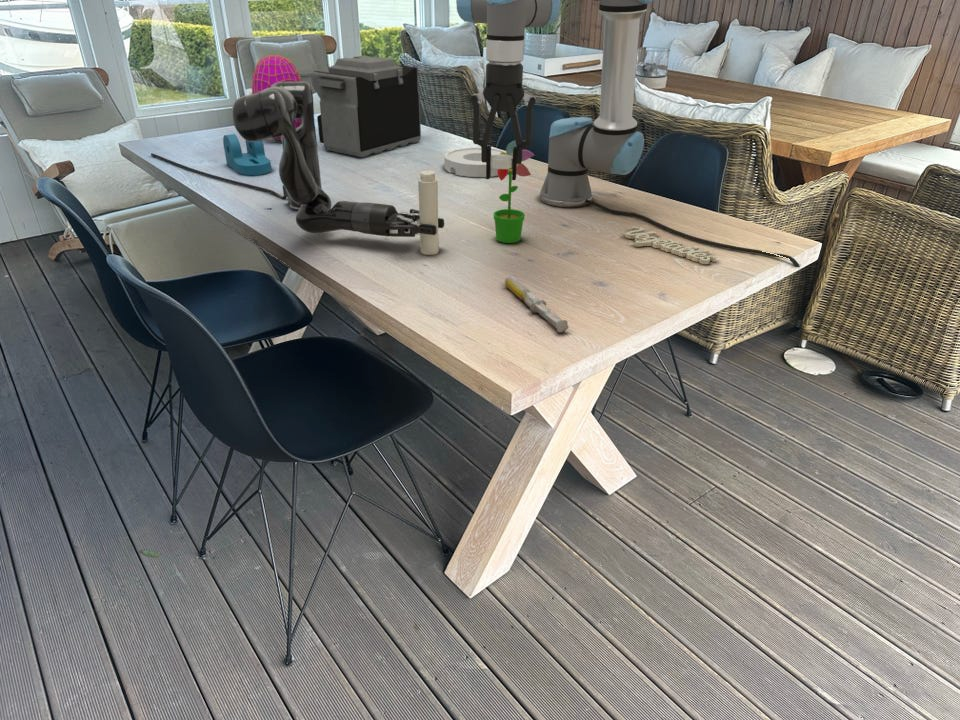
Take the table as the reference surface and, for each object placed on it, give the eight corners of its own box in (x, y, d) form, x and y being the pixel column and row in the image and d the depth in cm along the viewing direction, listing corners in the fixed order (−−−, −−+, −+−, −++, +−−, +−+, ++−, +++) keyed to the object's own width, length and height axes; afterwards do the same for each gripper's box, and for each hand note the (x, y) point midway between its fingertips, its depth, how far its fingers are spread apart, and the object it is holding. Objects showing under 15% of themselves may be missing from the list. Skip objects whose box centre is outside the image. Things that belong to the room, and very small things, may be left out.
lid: (516, 164, 150) (517, 156, 149) (507, 170, 146) (507, 161, 145) (495, 162, 151) (496, 153, 150) (485, 167, 147) (486, 158, 146)
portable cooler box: (383, 133, 276) (378, 52, 261) (425, 141, 265) (422, 56, 250) (314, 150, 251) (304, 61, 235) (358, 160, 240) (350, 67, 224)
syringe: (500, 283, 150) (500, 272, 149) (516, 281, 152) (516, 270, 150) (551, 335, 131) (552, 322, 129) (568, 332, 132) (569, 319, 130)
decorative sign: (611, 234, 176) (635, 225, 181) (610, 237, 176) (634, 229, 182) (700, 264, 159) (723, 254, 164) (699, 268, 159) (723, 257, 165)
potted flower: (500, 246, 170) (503, 143, 157) (485, 236, 176) (487, 136, 163) (533, 241, 173) (538, 139, 161) (517, 231, 179) (521, 133, 167)
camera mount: (227, 164, 233) (221, 132, 227) (257, 160, 238) (252, 129, 233) (244, 176, 220) (239, 143, 215) (276, 172, 225) (271, 139, 220)
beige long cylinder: (417, 250, 167) (414, 171, 158) (432, 247, 170) (430, 168, 160) (426, 256, 164) (424, 176, 155) (442, 252, 167) (440, 173, 157)
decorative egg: (293, 132, 276) (283, 50, 261) (319, 140, 264) (310, 56, 249) (249, 139, 265) (236, 54, 250) (273, 148, 253) (261, 60, 238)
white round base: (447, 158, 243) (446, 146, 241) (512, 159, 243) (512, 148, 241) (441, 176, 223) (441, 164, 221) (512, 177, 223) (513, 165, 221)
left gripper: (360, 213, 159) (428, 221, 155) (385, 195, 171) (449, 202, 167) (362, 243, 163) (429, 252, 159) (387, 224, 175) (450, 232, 171)
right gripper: (549, 61, 141) (542, 175, 152) (462, 59, 142) (462, 171, 154) (548, 66, 134) (541, 184, 146) (457, 63, 136) (458, 180, 147)
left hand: (439, 226), depth 163 cm, fingers closed on beige long cylinder, 4 cm apart
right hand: (501, 177), depth 150 cm, fingers closed on lid, 5 cm apart
